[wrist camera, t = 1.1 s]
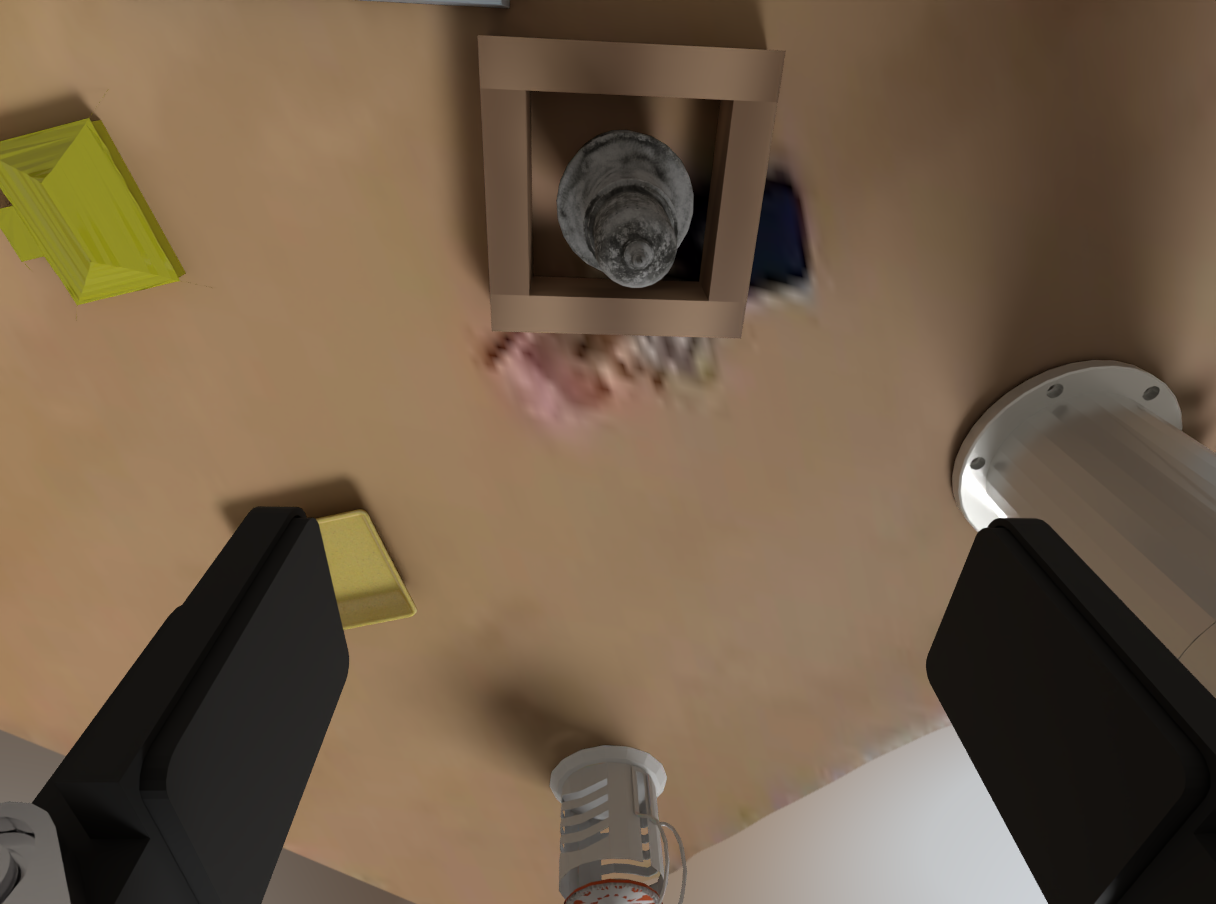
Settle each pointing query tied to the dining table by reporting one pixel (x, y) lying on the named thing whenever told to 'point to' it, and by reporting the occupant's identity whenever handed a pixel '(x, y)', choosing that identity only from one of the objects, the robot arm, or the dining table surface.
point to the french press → (611, 825)
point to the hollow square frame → (733, 198)
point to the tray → (457, 2)
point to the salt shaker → (626, 206)
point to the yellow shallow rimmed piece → (362, 571)
